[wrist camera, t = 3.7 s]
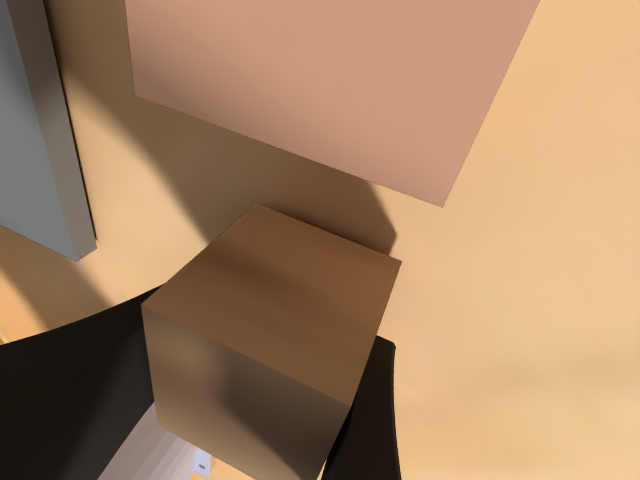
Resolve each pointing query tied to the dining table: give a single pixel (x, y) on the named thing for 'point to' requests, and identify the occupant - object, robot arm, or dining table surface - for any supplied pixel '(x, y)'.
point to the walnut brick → (266, 342)
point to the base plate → (38, 139)
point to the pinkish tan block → (335, 77)
